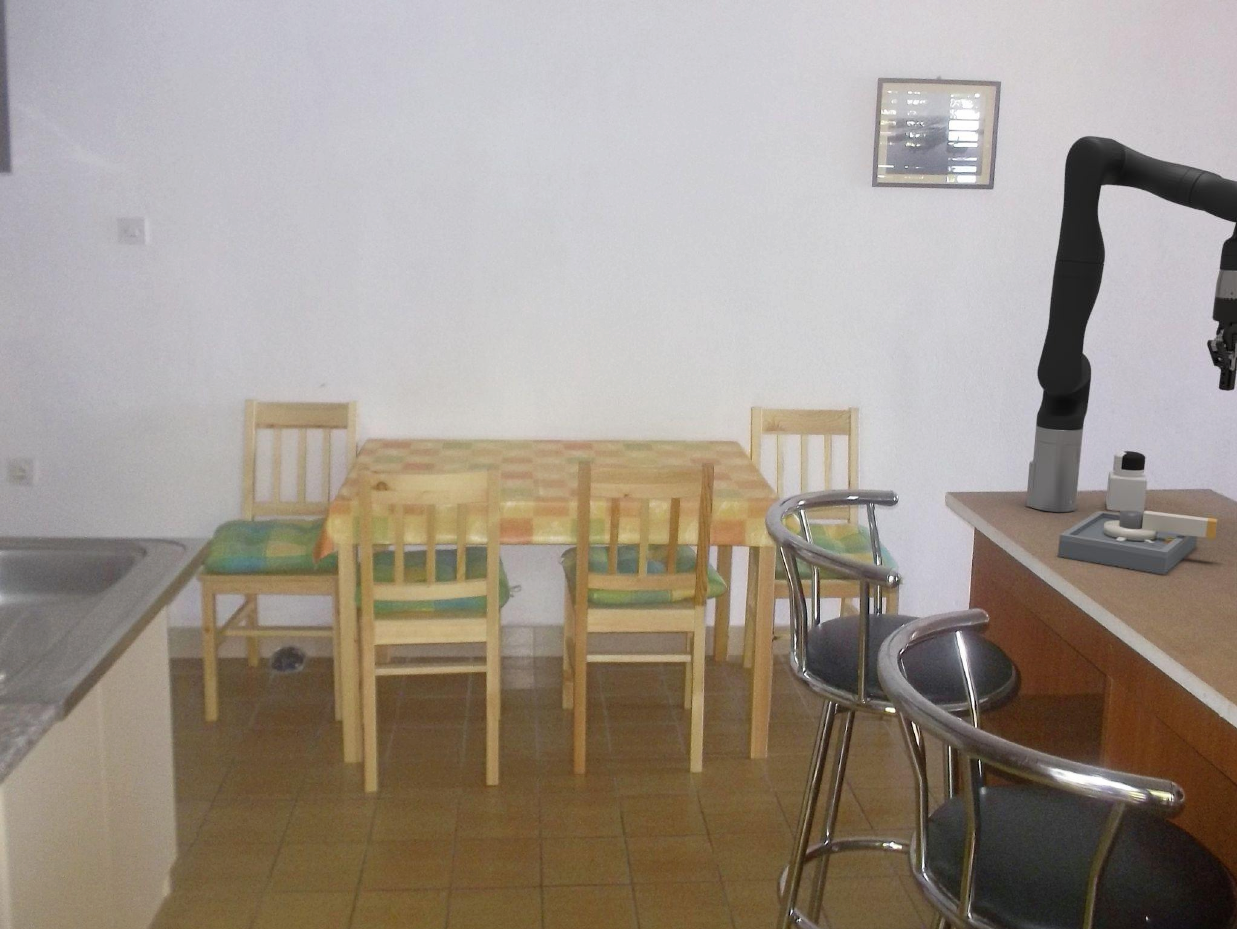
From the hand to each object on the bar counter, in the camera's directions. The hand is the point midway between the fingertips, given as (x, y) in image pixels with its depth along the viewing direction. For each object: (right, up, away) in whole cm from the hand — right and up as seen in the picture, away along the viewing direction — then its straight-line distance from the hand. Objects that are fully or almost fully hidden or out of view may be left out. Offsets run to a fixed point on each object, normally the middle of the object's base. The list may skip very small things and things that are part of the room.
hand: (1226, 389), depth 227 cm
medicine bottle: (-6, -23, +32) cm, 40 cm away
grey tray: (-19, -30, -3) cm, 36 cm away
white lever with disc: (-15, -27, -5) cm, 32 cm away
